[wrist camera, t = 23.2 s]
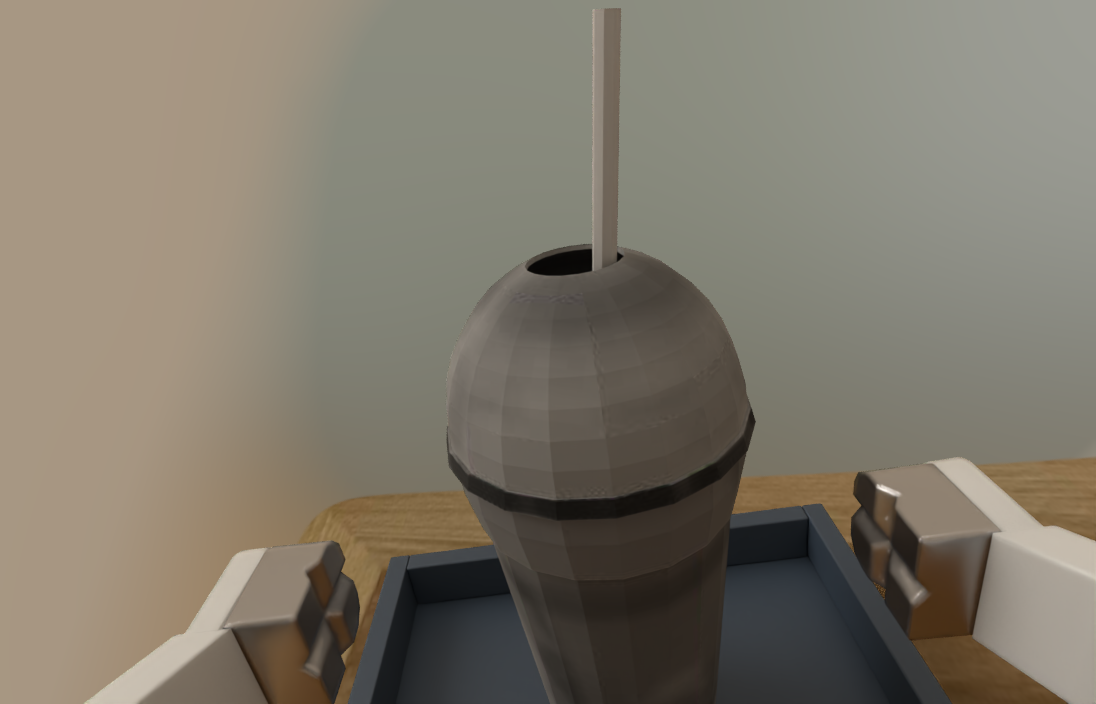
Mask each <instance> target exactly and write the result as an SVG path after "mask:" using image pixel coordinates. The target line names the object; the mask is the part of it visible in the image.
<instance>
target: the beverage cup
mask: <svg viewBox="0 0 1096 704" xmlns="http://www.w3.org/2000/svg"><path fill="white" fill-rule="evenodd" d="M620 31H621V9H620V8H611V9H610V8H609V9H594V10H593V144H592V145H593V146H592V149H593V150H592V152H593V153H592V156H593V157H592V158H593V160H592V162H593V163H592V165H593V166H592V173H593V174H592V181H593V182H592V186H593V187H592V193H593V194H592V211H593V212H592V219H593V220H592V231H593V233H592V244H583V245H574V246H567V247H563V248H558V249H554V250H550V251H547V252H544V253H542V254H540V255H537V256H535V257H533V258H531V259H529V260H527V261H525V262H523V263H521V264H520V265H518V266H516V267H515V268H513V269H512V270H511V271H509V272H508V273H507V274H505V275H504V276H503V277H502V278H501V279H499V280H498V281H497V282H496V283H495V284H494V285H493V286H491V287H490V288H489V290H488V291H487V292H486V293H485V294H484V296H483V297H482V298H481V299H480V301H479V302H478V303H477V305H476V306H475V308H474V309H473V311H472V313H471V315H470V316H469V318H468V320H467V322H466V324H465V325H464V327H463V329H462V331H461V333H460V334H459V336H458V338H457V341H456V344H455V347H454V350H453V353H452V356H451V359H450V363H449V369H448V375H447V381H446V407H447V417H448V426H447V450H448V462H449V468H450V469H451V470H452V471H453V473H454V474H455V475H456V476H457V478H458V479H459V480H460V482H461V483H462V485H463V489H464V492H465V494H466V496H467V498H468V500H469V502H470V504H471V506H472V508H473V510H474V512H475V514H476V516H477V518H478V520H479V521H480V523H481V525H482V527H483V529H484V530H485V531H486V533H487V534H488V535H489V537H490V538H491V539H492V541H493V544H494V546H495V549H496V552H497V555H498V558H499V561H500V563H501V566H502V569H503V572H504V575H505V578H506V580H507V583H508V586H509V589H510V592H511V594H512V597H513V600H514V603H515V606H516V609H517V611H518V614H519V617H520V620H521V623H522V626H523V628H524V631H525V634H526V637H527V640H528V642H529V645H530V648H531V651H532V654H533V657H534V659H535V662H536V665H537V668H538V671H539V674H540V676H541V679H542V682H543V685H544V688H545V690H546V693H547V696H548V699H549V702H550V704H716V692H717V680H718V668H719V655H720V643H721V630H722V618H723V605H724V593H725V581H726V568H727V556H728V543H729V531H730V518H731V514H732V510H733V507H734V503H735V499H736V496H737V492H738V488H739V483H740V479H741V474H742V470H743V465H744V461H745V457H746V452H747V451H748V447H749V444H750V440H751V437H752V433H753V430H754V426H755V422H756V421H755V418H754V415H753V412H752V409H751V406H750V403H749V400H748V397H747V394H746V384H745V380H744V376H743V373H742V369H741V366H740V362H739V359H738V356H737V353H736V350H735V347H734V345H733V342H732V339H731V337H730V335H729V333H728V331H727V328H726V326H725V324H724V322H723V320H722V318H721V317H720V315H719V314H718V312H717V311H716V310H715V308H714V307H713V305H712V304H711V302H710V301H709V300H708V299H707V297H705V296H704V295H703V294H702V293H701V292H700V291H699V290H698V289H697V288H696V287H695V286H694V285H693V284H692V283H691V282H690V281H689V280H687V279H686V278H684V277H683V276H682V275H680V274H678V273H677V272H676V271H675V270H673V269H672V268H670V267H669V266H667V265H666V264H664V263H663V262H662V261H660V260H658V259H655V258H653V257H651V256H649V255H646V254H644V253H642V252H638V251H635V250H631V249H627V248H623V247H618V246H617V217H618V156H619V94H620V93H619V91H620Z"/></svg>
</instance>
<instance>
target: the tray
mask: <svg viewBox="0 0 1096 704" xmlns="http://www.w3.org/2000/svg"><path fill="white" fill-rule="evenodd" d="M884 602H885V600H884V599H883V597H882V596H881V594H880V593H879V591H878V590H877V588H876V587H875V585H874V584H873V582H872V581H871V580H869V579H868V577H867V576H866V574H865V572H864V571H863V569H862V568H861V566H860V564H859V561H858V559H857V558H856V556H855V555H854V553H853V551H852V550H851V548H850V547H849V545H848V544H847V542H846V541H845V539H844V538H843V536H842V535H841V533H840V532H839V530H838V529H837V527H836V525H835V524H834V522H833V521H832V519H831V518H830V516H829V515H828V513H827V512H826V510H825V509H824V507H823V506H822V504H812V505H804V506H802V507H801V506H795V507H787V508H779V509H771V510H764V511H756V512H748V513H740V514H732V515H731V518H730V531H729V543H728V556H727V568H726V581H725V593H724V605H723V618H722V630H721V643H720V655H719V668H718V680H717V692H716V704H952V703H951V701H950V700H949V698H948V697H947V695H946V694H945V692H944V691H943V689H942V687H941V686H940V684H939V683H938V681H937V680H936V678H935V677H934V675H933V674H932V672H931V671H930V669H929V668H928V666H927V665H926V663H925V661H924V660H923V658H922V657H921V655H920V654H919V652H918V651H917V649H916V648H915V646H914V645H913V643H912V642H911V640H910V641H909V639H908V638H907V636H906V635H905V633H904V632H903V630H902V629H901V627H900V626H899V624H898V623H897V621H896V620H895V618H894V617H893V615H892V614H891V612H890V611H889V609H888V608H887V606H886V605H885V603H884ZM348 704H550V702H549V699H548V696H547V693H546V690H545V688H544V685H543V682H542V679H541V676H540V674H539V671H538V668H537V665H536V662H535V659H534V657H533V654H532V651H531V648H530V645H529V642H528V640H527V637H526V634H525V631H524V628H523V626H522V623H521V620H520V617H519V614H518V611H517V609H516V606H515V603H514V600H513V597H512V594H511V592H510V589H509V586H508V583H507V580H506V578H505V575H504V572H503V569H502V566H501V563H500V561H499V558H498V555H497V552H496V549H495V546H494V545H489V546H481V547H473V548H465V549H457V550H449V551H441V552H434V553H426V554H418V555H411V556H409V555H408V556H400V557H392V558H391V560H390V563H389V566H388V570H387V573H386V576H385V580H384V583H383V586H382V590H381V593H380V597H379V600H378V603H377V607H376V610H375V613H374V617H373V620H372V624H371V627H370V630H369V634H368V637H367V640H366V644H365V647H364V650H363V654H362V657H361V661H360V664H359V667H358V671H357V674H356V677H355V681H354V684H353V687H352V691H351V694H350V698H349V701H348Z"/></svg>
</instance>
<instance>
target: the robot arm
mask: <svg viewBox="0 0 1096 704" xmlns="http://www.w3.org/2000/svg"><path fill="white" fill-rule="evenodd" d="M853 495H854V496H855V497H856V499H857V500H858V501H859V503H860V504H861V505H862V506H861V507H860V508H859V509H858V510H857V512H856V513H855V514H854V515H853V516H852V517H851V538H852V542H853V547H854V551H855V554H856V557H857V559H858V561H859V564H860V566H861V568H862V569H863V571H864V572H865V574H866V576H867V577H868V579H869V580H871V581H873V582H874V583H876V584H878V585H880V586H881V587H883V588H885V589H886V592H885V602H884V603H885V605H886V606H887V608H888V609H889V611H890V612H891V614H892V615H893V617H894V618H895V620H896V621H897V623H898V624H899V626H900V627H901V629H902V630H903V632H904V633H905V635H906V636H907V638H908V639H909V641H910V640H921V639H932V638H943V637H954V636H966V635H972V638H973V639H974V640H976V641H977V642H979V643H980V644H982V645H983V646H985V647H986V648H988V649H989V650H991V651H992V652H994V653H995V654H996V655H998V656H999V657H1001V658H1002V659H1004V660H1005V661H1007V662H1008V663H1010V664H1011V665H1013V666H1014V667H1016V668H1017V669H1019V670H1020V671H1022V672H1023V673H1025V674H1026V675H1027V676H1029V677H1030V678H1032V679H1033V680H1035V681H1036V682H1038V683H1039V684H1041V685H1042V686H1044V687H1045V688H1047V689H1048V690H1050V691H1051V692H1053V693H1054V694H1056V695H1057V696H1059V697H1060V698H1061V699H1063V700H1064V701H1066V702H1067V703H1069V704H1096V541H1094V540H1091V539H1089V538H1086V537H1083V536H1081V535H1078V534H1076V533H1073V532H1070V531H1068V530H1065V529H1063V528H1060V527H1057V526H1048V527H1043V526H1042V525H1041V524H1040V523H1039V522H1038V521H1037V520H1036V519H1034V518H1033V517H1032V516H1031V515H1030V514H1029V513H1028V512H1027V511H1025V510H1024V509H1023V508H1022V507H1021V506H1020V505H1019V504H1018V503H1016V502H1015V501H1014V500H1013V499H1012V498H1011V497H1010V496H1009V495H1007V494H1006V493H1005V492H1004V491H1003V490H1002V489H1001V488H1000V487H998V486H997V485H996V484H995V483H994V482H993V481H992V480H991V479H989V478H988V477H987V476H986V475H985V474H984V473H983V472H982V471H980V470H979V469H978V468H977V467H976V466H975V465H974V464H973V463H971V462H970V461H969V460H966V459H964V458H961V457H957V458H951V459H944V460H937V461H931V462H926V463H925V464H916V465H909V466H902V467H894V468H887V469H879V470H872V471H865V472H858V474H857V476H856V478H855V481H854V491H853ZM344 562H345V557H344V555H343V552H342V550H341V547H340V545H339V543H337V542H334V541H322V542H313V543H303V544H294V545H285V546H275V547H272V548H261V549H253V550H244V551H241V552H239V553H238V554H236V555H234V557H233V558H232V559H231V561H230V563H229V564H228V566H227V567H226V569H225V571H224V572H223V574H222V575H221V577H220V579H219V580H218V582H217V583H216V585H215V587H214V588H213V590H212V591H211V593H210V595H209V596H208V598H207V599H206V601H205V603H204V604H203V606H202V607H201V609H200V610H199V612H198V614H197V615H196V617H195V619H194V620H193V622H192V623H191V625H190V626H189V628H188V630H187V631H186V633H185V634H181V635H175V636H173V637H172V638H171V639H169V640H168V641H167V642H165V643H164V644H163V645H161V646H160V647H159V648H157V649H156V650H155V651H153V652H152V653H151V654H149V655H148V656H147V657H145V658H144V659H143V660H141V661H140V662H138V663H137V664H136V665H134V666H133V667H132V668H131V669H129V670H128V671H126V672H125V673H124V674H122V675H121V676H120V677H119V678H117V679H116V680H114V681H113V682H112V683H110V684H109V685H108V686H107V687H105V688H104V689H103V690H101V691H100V692H98V693H97V694H96V695H94V696H93V697H92V698H91V699H89V700H88V701H86V702H85V703H84V704H334V703H335V700H336V696H337V693H338V690H339V687H340V684H341V681H342V678H343V675H344V672H345V669H346V668H345V665H344V663H343V660H342V658H341V655H342V654H343V653H344V652H345V651H346V650H347V649H348V648H349V647H350V646H351V645H352V644H353V643H354V640H355V636H356V633H357V630H358V626H359V611H360V605H359V599H358V592H357V590H356V587H355V584H354V581H353V580H352V579H350V578H349V577H347V576H346V575H345V574H343V573H342V572H341V570H342V567H343V565H344Z"/></svg>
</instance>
